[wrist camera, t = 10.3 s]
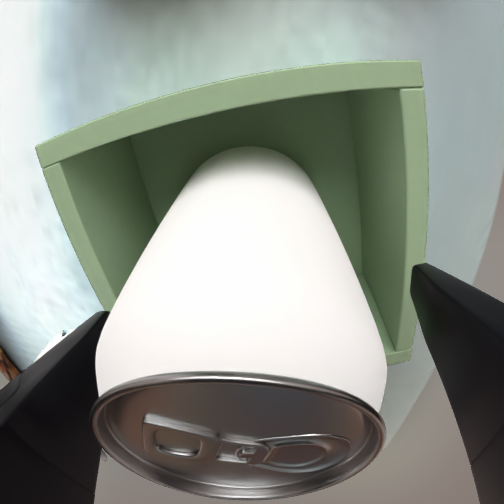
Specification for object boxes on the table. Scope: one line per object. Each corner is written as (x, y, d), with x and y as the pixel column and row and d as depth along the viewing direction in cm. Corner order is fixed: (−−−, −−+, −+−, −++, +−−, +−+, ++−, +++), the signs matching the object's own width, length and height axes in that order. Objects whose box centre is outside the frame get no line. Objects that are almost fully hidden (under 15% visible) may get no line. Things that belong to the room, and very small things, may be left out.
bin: (371, 274, 18) (410, 360, 12) (180, 304, 20) (155, 393, 14) (354, 65, 13) (420, 60, 7) (115, 115, 14) (33, 146, 8)
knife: (118, 468, 34) (90, 463, 34) (120, 459, 35) (92, 455, 35) (-2, 345, 21) (-27, 343, 22) (4, 334, 22) (-21, 334, 23)
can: (296, 277, 17) (326, 506, 7) (176, 254, 17) (98, 476, 6) (334, 162, 14) (480, 371, 4) (194, 131, 14) (26, 300, 3)
